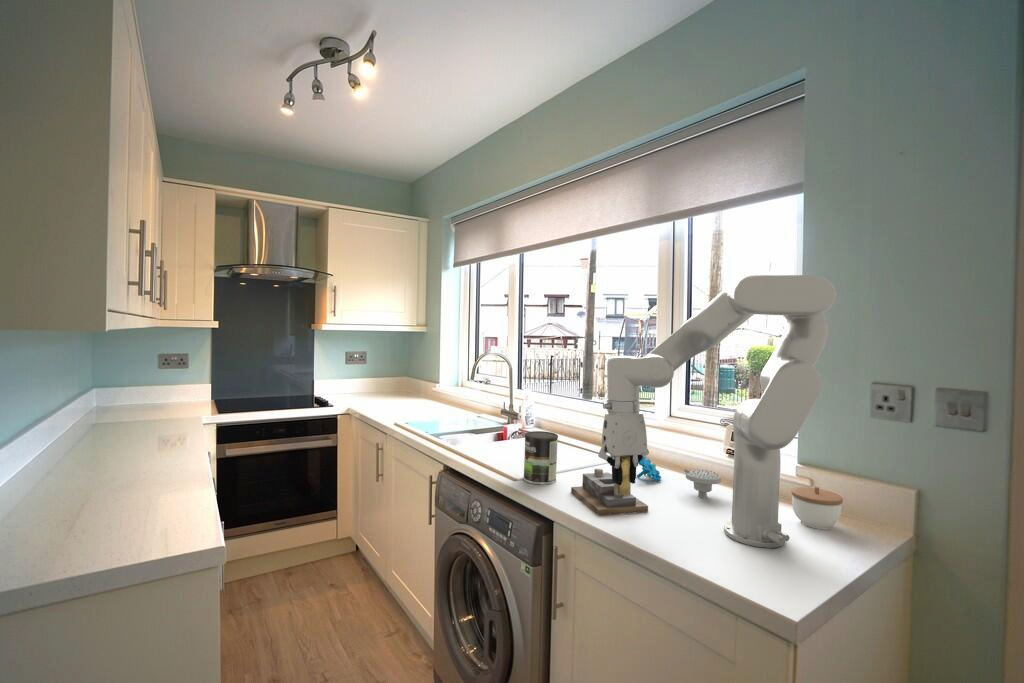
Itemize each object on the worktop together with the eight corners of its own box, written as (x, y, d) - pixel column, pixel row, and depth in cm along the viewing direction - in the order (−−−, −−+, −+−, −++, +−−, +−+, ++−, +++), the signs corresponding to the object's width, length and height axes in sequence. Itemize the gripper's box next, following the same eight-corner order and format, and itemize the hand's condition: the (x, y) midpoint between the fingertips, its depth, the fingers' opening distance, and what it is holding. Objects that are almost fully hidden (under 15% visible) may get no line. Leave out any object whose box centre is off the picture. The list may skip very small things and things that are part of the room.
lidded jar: (780, 518, 125) (781, 481, 125) (814, 515, 127) (816, 479, 127) (816, 535, 114) (817, 495, 114) (852, 531, 117) (854, 492, 117)
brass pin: (632, 494, 117) (632, 453, 117) (621, 495, 116) (621, 454, 116) (626, 490, 120) (626, 450, 120) (615, 492, 119) (615, 451, 119)
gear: (656, 481, 148) (635, 453, 153) (641, 492, 150) (622, 464, 155) (667, 477, 157) (648, 451, 162) (653, 488, 159) (634, 462, 164)
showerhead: (683, 464, 146) (719, 468, 143) (682, 488, 146) (718, 493, 143) (683, 473, 137) (722, 477, 134) (682, 498, 137) (721, 503, 134)
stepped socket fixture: (647, 511, 126) (648, 484, 126) (598, 515, 123) (599, 487, 123) (615, 489, 144) (616, 465, 144) (571, 492, 140) (571, 468, 140)
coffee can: (533, 486, 144) (535, 439, 144) (517, 476, 153) (518, 432, 153) (563, 482, 149) (564, 436, 149) (545, 473, 158) (546, 430, 158)
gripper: (599, 411, 112) (600, 490, 113) (661, 407, 117) (662, 484, 117) (585, 406, 120) (586, 481, 120) (645, 403, 124) (645, 475, 124)
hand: (624, 482), depth 118 cm, fingers closed on brass pin, 3 cm apart
